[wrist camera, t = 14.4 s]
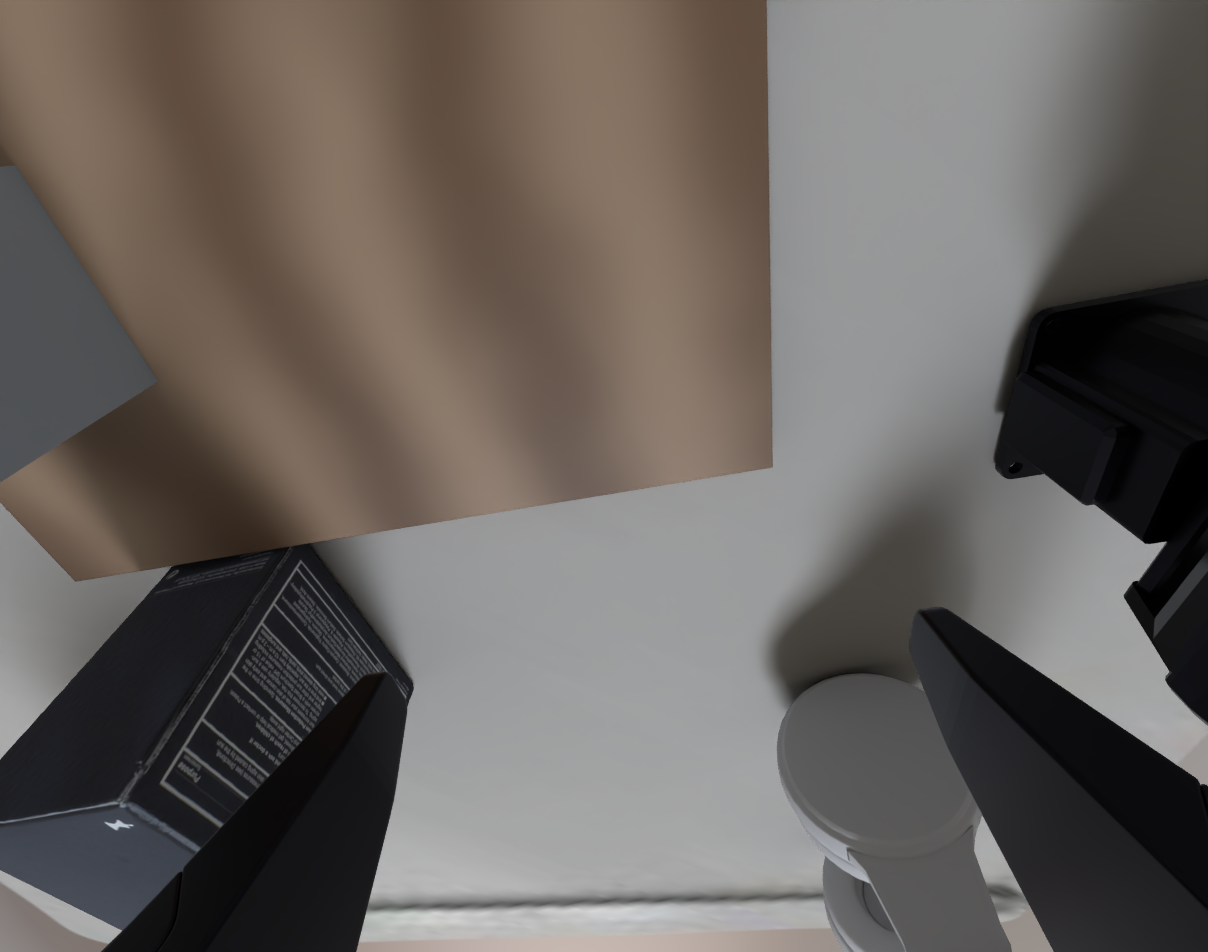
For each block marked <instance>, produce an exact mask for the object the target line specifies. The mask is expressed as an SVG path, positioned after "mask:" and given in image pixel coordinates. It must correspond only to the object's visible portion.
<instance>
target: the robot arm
mask: <svg viewBox="0 0 1208 952" xmlns="http://www.w3.org/2000/svg"><path fill="white" fill-rule="evenodd" d="M1052 320H1053V323H1052V325H1051V326H1050V327H1049V328H1048V329H1046V330H1045V328H1046V326H1047V324H1048V323H1049V322H1050V321H1052ZM1014 463H1015V464H1014ZM1012 464H1014V465H1013V466H1011V465H1012ZM1010 466H1011V467H1010ZM995 469H996V470H997V472H999V473H1000V474H1001V475H1002V476H1003V477H1005V478H1007V479H1015V478H1021V477H1028V476H1034V475H1040V474H1045V475H1046V476H1048V477H1049V478H1050V479H1051V480H1053V481H1054V482H1055V483H1057V484H1058V485H1059V486H1060V487H1062V488H1063V489H1064V490H1065V491H1067V492H1068V493H1069V494H1071V495H1072V496H1073V497H1074V498H1076V499H1077V500H1078V501H1079V502H1081V503H1082V504H1084V505H1086V506H1087V505H1096V506H1097V507H1098V508H1100V509H1101V510H1102V511H1104V512H1105V513H1106V514H1107V515H1109V516H1110V517H1111V518H1113V519H1114V520H1115V521H1117V522H1118V523H1119V524H1121V525H1122V526H1123V527H1124V528H1126V529H1127V530H1128V531H1130V532H1131V533H1132V534H1134V535H1135V536H1136V537H1137V538H1139V539H1140V540H1141V541H1143V542H1144V543H1145V544H1153V543H1159V542H1166V544H1165V545H1164V546H1163V548H1162V549H1161V551H1160V552H1159V553H1158V555H1157V556H1156V558H1155V559H1154V560H1153V562H1152V563H1151V564H1150V566H1149V567H1148V569H1147V570H1146V571H1145V573H1144V574H1143V576H1142V577H1141V578H1140V580H1139V581H1134V582H1133V583H1132V584H1131V586H1130V587H1129V588H1128V590H1127V591H1126V593H1125V594H1124V598H1125V600H1126V602H1127V603H1128V605H1129V606H1130V608H1131V610H1132V611H1133V613H1134V615H1135V616H1136V618H1137V619H1138V621H1139V623H1140V624H1141V626H1142V627H1143V629H1144V631H1145V632H1146V634H1147V636H1148V637H1149V639H1150V640H1151V642H1152V644H1153V645H1154V647H1155V649H1156V650H1157V652H1158V653H1159V655H1160V657H1161V658H1162V660H1163V662H1164V663H1165V665H1166V666H1167V668H1168V670H1169V671H1170V672H1169V673H1168V674H1167V675H1166V678H1165V680H1166V682H1167V684H1168V686H1169V687H1170V688H1171V690H1172V691H1173V692H1174V693H1175V694H1176V696H1177V697H1178V698H1179V699H1180V700H1181V701H1182V702H1183V703H1184V704H1185V705H1186V706H1187V707H1188V708H1189V709H1190V710H1191V711H1192V712H1193V713H1194V714H1195V715H1196V716H1197V717H1198V718H1199V719H1200V720H1202V721H1203V722H1204V723H1205V724H1206V725H1208V280H1203V281H1198V282H1192V283H1187V284H1181V285H1175V286H1170V287H1164V288H1158V289H1153V290H1147V291H1141V292H1136V293H1130V294H1124V295H1119V296H1113V297H1107V298H1102V299H1096V300H1091V301H1085V302H1079V303H1074V304H1068V305H1062V306H1057V307H1051V308H1047V309H1044V310H1042V311H1041V312H1039V313H1038V314H1037V315H1036V316H1035V317H1034V318H1033V319H1032V321H1031V323H1030V326H1029V330H1028V334H1027V338H1026V342H1025V346H1024V350H1023V354H1022V358H1021V362H1020V366H1019V370H1018V375H1017V379H1016V381H1015V384H1014V389H1013V393H1012V397H1011V401H1010V405H1009V409H1008V413H1007V417H1006V421H1005V425H1004V429H1003V434H1002V440H1001V444H1000V448H999V452H998V456H997V460H996V464H995ZM909 650H910V654H911V657H912V660H913V663H914V665H915V668H916V670H917V673H918V675H919V678H920V680H921V683H922V685H923V688H924V691H925V693H926V696H927V698H928V701H929V703H930V706H931V708H932V711H933V713H934V716H935V718H936V721H937V723H938V726H939V728H940V731H941V733H942V736H943V738H944V741H945V743H946V745H947V748H948V750H949V752H950V754H951V756H952V758H953V760H954V762H955V764H956V766H957V768H958V770H959V771H960V773H961V775H962V777H963V779H964V781H965V783H966V785H967V787H968V789H969V791H970V792H971V794H972V796H973V798H974V800H975V802H976V804H977V806H978V808H979V810H980V812H981V813H982V815H983V817H984V819H985V821H986V823H987V825H988V827H989V829H990V831H991V833H992V835H993V836H994V838H995V840H996V842H997V844H998V846H999V848H1000V850H1001V852H1002V854H1003V856H1004V857H1005V859H1006V861H1007V863H1008V865H1009V867H1010V869H1011V871H1012V873H1013V875H1014V877H1015V878H1016V880H1017V882H1018V884H1019V886H1020V888H1021V890H1022V892H1023V894H1024V896H1025V898H1026V899H1027V901H1028V903H1029V905H1030V907H1031V909H1032V911H1033V913H1034V915H1035V916H1036V918H1037V920H1038V922H1039V924H1040V926H1041V928H1042V930H1043V932H1044V934H1045V936H1046V938H1047V940H1048V941H1049V943H1050V945H1051V947H1052V949H1053V951H1054V952H1208V786H1207V785H1205V784H1201V785H1200V783H1199V781H1198V780H1197V779H1196V778H1195V777H1194V776H1192V775H1191V774H1189V773H1188V772H1186V771H1185V770H1183V769H1182V768H1180V767H1179V766H1177V765H1176V764H1174V763H1173V762H1171V761H1170V760H1169V759H1167V758H1166V757H1164V756H1163V755H1161V754H1160V753H1158V752H1157V751H1155V750H1154V749H1152V748H1151V747H1149V746H1148V745H1146V744H1145V743H1144V742H1142V741H1141V740H1139V739H1138V738H1136V737H1135V736H1133V735H1132V734H1130V733H1129V732H1127V731H1126V730H1124V729H1123V728H1121V727H1120V726H1118V725H1117V724H1116V723H1114V722H1113V721H1111V720H1110V719H1108V718H1107V717H1105V716H1104V715H1102V714H1101V713H1099V712H1098V711H1096V710H1095V709H1093V708H1092V707H1091V706H1089V705H1088V704H1086V703H1085V702H1083V701H1082V700H1080V699H1079V698H1077V697H1076V696H1074V695H1073V694H1071V693H1070V692H1068V691H1067V690H1065V689H1064V688H1063V687H1061V686H1060V685H1058V684H1057V683H1055V682H1054V681H1052V680H1051V679H1049V678H1048V677H1046V676H1045V675H1043V674H1042V673H1040V672H1039V671H1037V670H1036V669H1035V668H1033V667H1032V666H1030V665H1029V664H1027V663H1026V662H1024V661H1023V660H1021V659H1020V658H1018V657H1017V656H1015V655H1014V654H1012V653H1011V652H1010V651H1008V650H1007V649H1005V648H1004V647H1002V646H1001V645H999V644H998V643H996V642H995V641H993V640H992V639H990V638H989V637H987V636H986V635H984V634H983V633H982V632H980V631H979V630H977V629H976V628H974V627H973V626H971V625H970V624H968V623H967V622H965V621H964V620H962V619H961V618H959V617H958V616H957V615H955V614H954V613H952V612H951V611H949V610H947V609H945V608H942V607H935V608H926V609H919V610H917V611H916V612H915V614H914V618H913V623H912V629H911V634H910V639H909ZM406 716H407V702H406V699H405V697H404V695H403V693H402V691H401V690H400V688H399V686H398V685H397V683H396V681H395V679H394V678H393V676H392V675H391V674H390V673H389V672H387V671H383V672H374V673H368V674H366V675H364V676H363V677H361V678H360V679H359V680H358V682H357V683H356V684H355V685H354V686H353V687H352V688H351V689H350V690H349V691H348V692H347V693H346V694H345V695H344V696H343V697H342V699H341V700H340V701H339V702H338V703H337V704H336V705H335V706H334V707H333V708H332V709H331V710H330V711H329V712H328V713H327V715H326V716H325V717H324V718H323V719H322V720H321V721H320V722H319V723H318V724H317V725H316V726H315V727H314V728H313V729H312V730H311V732H310V733H309V734H308V735H307V736H306V737H305V738H304V739H303V740H302V741H301V742H300V743H299V744H298V745H297V746H296V748H295V749H294V750H293V751H292V752H291V753H290V754H289V755H288V756H287V757H286V758H285V759H284V760H283V761H282V762H281V763H280V765H279V766H278V767H277V768H276V769H275V770H274V771H273V772H272V773H271V774H270V775H269V776H268V777H267V778H266V779H265V781H264V782H263V783H262V784H261V785H260V786H259V787H258V788H257V789H256V790H255V791H254V792H253V793H252V794H251V795H250V796H249V798H248V799H247V800H246V801H245V802H244V803H243V804H242V805H241V806H240V807H239V808H238V809H237V810H236V811H235V812H234V814H233V815H232V816H231V817H230V818H229V819H228V820H227V821H226V822H225V823H224V824H223V825H222V826H221V827H220V828H219V829H218V831H217V832H216V833H215V834H214V835H213V836H212V837H211V838H210V839H209V840H208V841H207V842H206V843H205V844H204V845H203V847H202V848H201V849H200V850H199V851H198V852H197V853H196V854H195V855H194V856H193V857H192V858H191V859H190V860H189V861H188V862H187V864H186V865H185V866H184V867H183V871H181V872H178V873H177V874H176V875H175V876H174V877H173V878H172V879H171V880H170V881H169V882H168V884H167V885H166V886H165V887H164V888H163V889H162V890H161V891H160V892H159V893H158V894H157V895H156V896H155V897H154V898H153V899H152V900H151V902H150V903H149V904H148V905H147V906H146V907H145V908H144V909H143V910H142V911H141V912H140V913H139V914H138V915H137V916H136V917H135V918H134V919H133V920H132V921H131V922H130V923H129V924H128V925H127V926H126V927H125V928H124V929H123V930H122V932H121V933H120V934H119V935H118V936H117V937H116V938H115V939H114V940H112V941H111V942H110V943H109V944H108V945H107V946H106V947H105V948H104V949H103V950H102V951H101V952H356V950H357V946H358V942H359V939H360V935H361V931H362V927H363V923H364V919H365V915H366V911H367V907H368V903H369V899H370V895H371V891H372V887H373V883H374V879H375V875H376V871H377V867H378V863H379V859H380V855H381V851H382V847H383V843H384V839H385V835H386V831H387V827H388V823H389V819H390V815H391V810H392V806H393V802H394V796H395V791H396V785H397V778H398V771H399V764H400V757H401V751H402V744H403V737H404V730H405V723H406Z"/></svg>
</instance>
